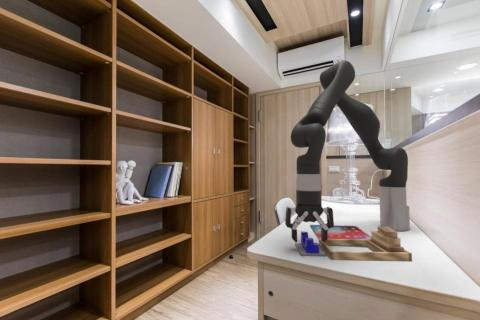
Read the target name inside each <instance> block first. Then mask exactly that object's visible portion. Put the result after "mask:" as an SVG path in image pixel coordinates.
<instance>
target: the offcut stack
mask: <svg viewBox="0 0 480 320" xmlns="http://www.w3.org/2000/svg"><path fill="white" fill-rule="evenodd" d="M370 233H371V234H370V235H371V236H370V237H371V242H373V243H374V244H376V245H377V246H379V247H381V248H382V249H384V250H385V251H387V252H404V250H405V247H403V246H401V245H402V244H401V238H400V237H399V236H398V231H394V230H393V229H391V228H389V227H380V226H377V230H375V231H373V230H372V231H370Z"/></svg>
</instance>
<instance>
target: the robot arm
mask: <svg viewBox="0 0 480 320" xmlns="http://www.w3.org/2000/svg"><path fill="white" fill-rule="evenodd" d="M355 79H356V70H355V68H354V65H353V64H352V63H351V62H350V61H349V60H345V59H344V60H340V61H338V62H336V63H334V64H333V65H332V66H330V67H328V68H326V69H325V70H323V71H322V72H320V75H319V82H320V85H321V87H322V88H323V91H322V92H321V93H320V94H319V95H318V96H317V98H315V100H314V101H313V103H312V104H311V105H310V107H309V109H308V111H307V113H306V114H305V115H304V116H303V117H302V118H301V119H300V120H299V121H298V122H297V123H296V124H295V126H294V127H292V130H291V133H290V142H291V144H292V145H293V146H294V147H295V148H300V149H301V148H302V149H303V148H308V149H307V151H306V153H304V154H301V155H298V156H297V157H296V178H295V202H296V203H295V207H289V206H286V207H285V223H284V224H285V226H286V228H288V229H291V239H292V240H293V242H295V243H298V229H297V228H299V226H300V225H301V224H302V222H304V223H309V222H311V223H316V222H317V223H318V225H321V227H322V228H321V240H322V242H326V240H327V239H328V229H329V228H333V227H334V225H335V223H334V209H333V208H331V207H330V206H326V207H323V205H322V178H321V158H322V153H323V149H324V146H325V142H326V139H327V138H326V137H327V135H326V134H327V133H326V130H325V128H324V127H325V126H326V125H327V124H328V121H329V119H330V118H331V115H332V113H333V111H334V109H335V107H336V106H337V107H338V108H339V110H340V111H341V112H342V114H343V115H344V117H345V118H346V120H347V121H348V123H349V124H350V126H351V127H352V129H353V131H354V132H355V133H356V134H357V136H358V138H359V139H360V140H361V142H362V143H363V145H364V147H365V148H366V150H367V152H368V155H369V156H370V158H371V160H372V162H373V164H374V165H375V166H376V168H378V169H379V170H382V171H390V174H389V175H388V176H385V177H384V178H381V179H379V181H378V182H379V183H378V185H379V220H380V221H379V223H380V226H379V227H389V228H391V229H393V230H394V231H396V232H405V231H410V230H411V223H410V222H411V221H410V220H411V219H410V215H411V214H410V206H409V205H408V204H407V201H408V200H407V181H408V178H409V177H408V174H409V173H408V172H409V171H408V167H409V157H408V153H407V151H406V149H404V148H401V147H392V148H390V147H389V148H385V147H384V146H383V144H382V143H381V142H380V140H379V137H380V131H381V122H380V119H379V117H378V116H377V114H376V113H375V112H374V110H373V108H372V107H370V106H369V105H367V104H366V103H364V102H361V101H360V100H358V99H355V98H354V97H352V96H350V95H349V94H348V93H346V91H348V89H349V88H350V86H351V85H352V84H353V83H354V80H355ZM294 213H295V214H296V217H295V218H294V220H293V222H292V221H291V219H292V215H294ZM322 214H324V215H326V223H325V221H324V220H323V218H321V216H322ZM291 222H292V223H291Z"/></svg>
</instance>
